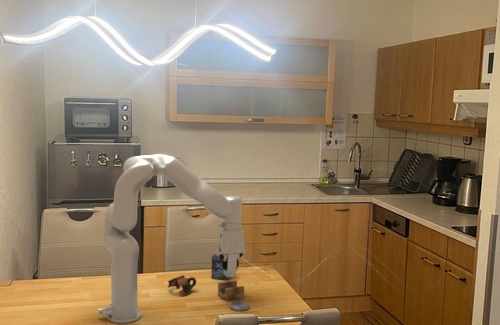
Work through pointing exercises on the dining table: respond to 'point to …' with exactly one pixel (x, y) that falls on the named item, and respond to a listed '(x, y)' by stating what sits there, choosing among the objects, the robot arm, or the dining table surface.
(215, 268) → the box
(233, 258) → the pin
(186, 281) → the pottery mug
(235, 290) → the cradle
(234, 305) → the disc
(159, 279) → the dining table surface
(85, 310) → the dining table surface
